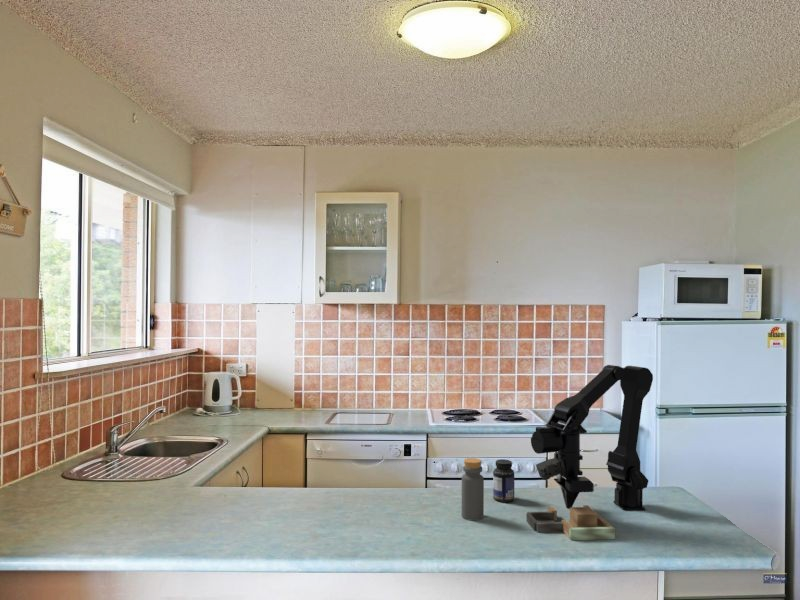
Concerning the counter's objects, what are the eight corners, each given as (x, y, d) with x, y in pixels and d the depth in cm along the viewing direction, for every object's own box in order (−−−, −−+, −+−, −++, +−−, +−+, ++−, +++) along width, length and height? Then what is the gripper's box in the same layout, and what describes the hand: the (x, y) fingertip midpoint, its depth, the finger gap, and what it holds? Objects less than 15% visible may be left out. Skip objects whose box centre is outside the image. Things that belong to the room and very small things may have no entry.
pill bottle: (513, 496, 168) (513, 458, 168) (515, 503, 162) (515, 464, 162) (492, 495, 169) (492, 458, 169) (493, 502, 163) (493, 463, 163)
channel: (587, 514, 154) (587, 505, 154) (614, 538, 138) (614, 528, 138) (522, 516, 152) (522, 506, 152) (542, 540, 136) (542, 530, 136)
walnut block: (588, 526, 146) (588, 507, 146) (597, 534, 141) (597, 514, 141) (569, 527, 145) (569, 507, 145) (577, 534, 140) (577, 514, 140)
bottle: (458, 518, 150) (458, 461, 151) (466, 511, 156) (466, 456, 156) (479, 522, 148) (479, 464, 148) (486, 514, 153) (486, 459, 153)
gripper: (528, 442, 162) (528, 497, 161) (552, 460, 143) (551, 522, 143) (566, 441, 163) (566, 496, 162) (594, 459, 144) (594, 521, 144)
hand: (568, 508), depth 153 cm, fingers closed
